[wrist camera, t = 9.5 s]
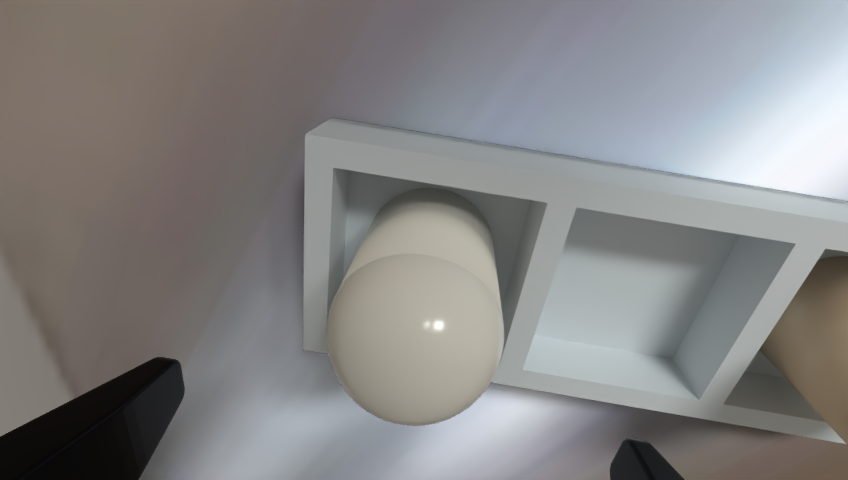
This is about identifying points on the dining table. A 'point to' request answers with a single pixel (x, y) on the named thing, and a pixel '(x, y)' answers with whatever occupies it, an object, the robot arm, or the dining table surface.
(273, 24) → the dining table surface
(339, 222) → the divided compartment tray
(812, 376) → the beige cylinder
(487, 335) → the white capsule shape
